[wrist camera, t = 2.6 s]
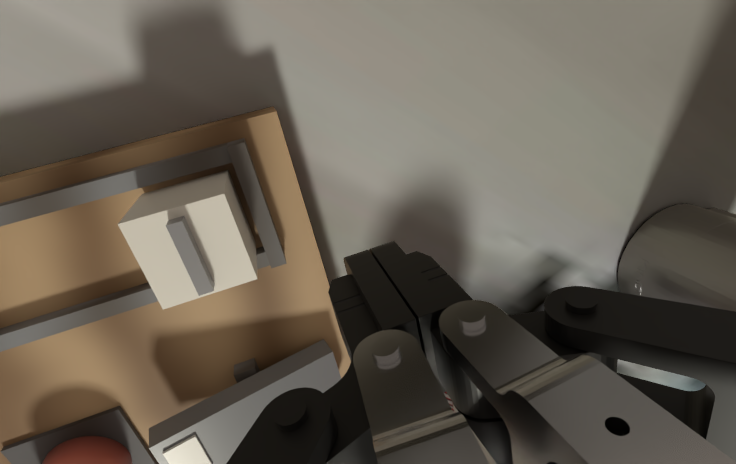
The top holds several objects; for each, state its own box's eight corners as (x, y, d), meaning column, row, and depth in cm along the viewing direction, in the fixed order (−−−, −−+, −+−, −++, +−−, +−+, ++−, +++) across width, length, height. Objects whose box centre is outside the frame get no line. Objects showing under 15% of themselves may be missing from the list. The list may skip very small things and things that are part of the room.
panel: (273, 106, 22) (278, 114, 18) (357, 381, 30) (371, 420, 27) (-163, 218, 18) (-252, 252, 15) (69, 490, 27) (45, 550, 24)
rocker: (323, 338, 24) (333, 353, 23) (338, 382, 26) (348, 398, 25) (148, 428, 21) (148, 450, 20) (177, 472, 23) (179, 495, 21)
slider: (228, 169, 19) (223, 198, 15) (255, 242, 21) (257, 285, 17) (141, 193, 19) (113, 230, 15) (177, 266, 21) (160, 317, 16)
